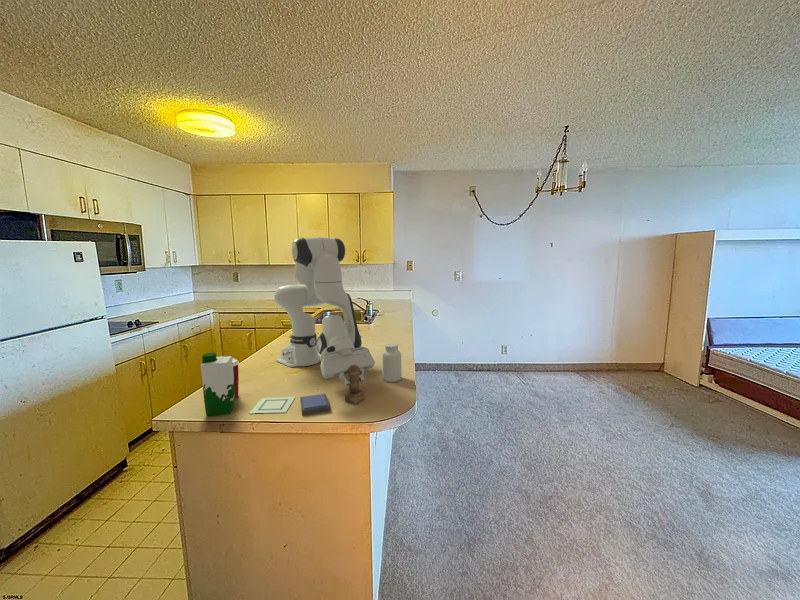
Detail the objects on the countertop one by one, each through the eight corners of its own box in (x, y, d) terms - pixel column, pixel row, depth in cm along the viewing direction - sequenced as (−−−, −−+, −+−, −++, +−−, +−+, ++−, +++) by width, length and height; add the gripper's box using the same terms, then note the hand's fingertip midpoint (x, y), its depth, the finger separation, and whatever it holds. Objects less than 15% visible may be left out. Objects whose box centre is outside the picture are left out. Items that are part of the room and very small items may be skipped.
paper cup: (237, 391, 129) (234, 356, 127) (244, 397, 123) (242, 361, 121) (215, 397, 123) (212, 361, 122) (221, 403, 118) (218, 365, 116)
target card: (262, 398, 122) (262, 397, 122) (295, 397, 122) (295, 396, 122) (249, 413, 110) (249, 412, 110) (285, 412, 111) (285, 411, 111)
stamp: (344, 401, 119) (343, 366, 117) (353, 396, 123) (353, 362, 122) (355, 404, 116) (354, 368, 115) (364, 399, 121) (363, 364, 119)
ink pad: (300, 401, 119) (300, 396, 119) (325, 398, 122) (325, 392, 122) (302, 415, 109) (301, 409, 108) (329, 411, 112) (329, 405, 111)
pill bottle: (379, 379, 141) (378, 345, 139) (392, 374, 147) (391, 341, 145) (392, 384, 135) (392, 348, 133) (405, 378, 141) (405, 344, 139)
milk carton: (209, 407, 115) (204, 351, 113) (237, 403, 118) (233, 349, 115) (202, 418, 107) (197, 359, 104) (232, 414, 109) (228, 356, 107)
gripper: (364, 350, 133) (377, 380, 126) (315, 359, 122) (326, 393, 115) (369, 341, 129) (382, 372, 122) (319, 350, 118) (330, 385, 111)
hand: (355, 382), depth 118 cm, fingers open, 4 cm apart
